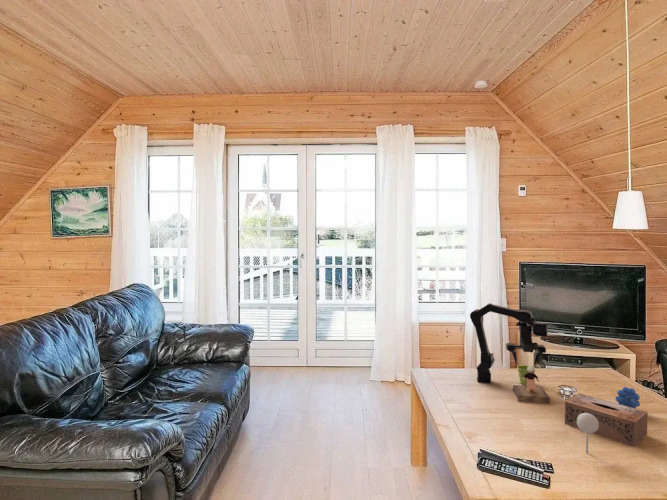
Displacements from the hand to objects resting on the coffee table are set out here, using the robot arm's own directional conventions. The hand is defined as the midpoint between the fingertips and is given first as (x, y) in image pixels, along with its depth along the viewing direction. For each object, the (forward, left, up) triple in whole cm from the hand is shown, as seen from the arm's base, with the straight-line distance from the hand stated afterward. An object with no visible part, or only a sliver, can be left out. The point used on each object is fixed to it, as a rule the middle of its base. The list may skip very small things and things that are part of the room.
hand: (525, 363), depth 225 cm
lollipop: (+8, -65, -13) cm, 67 cm away
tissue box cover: (+22, -43, -13) cm, 50 cm away
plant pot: (+2, +7, -13) cm, 15 cm away
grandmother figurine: (0, -12, -10) cm, 16 cm away
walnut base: (0, -12, -13) cm, 18 cm away
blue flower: (+39, -24, -13) cm, 48 cm away
